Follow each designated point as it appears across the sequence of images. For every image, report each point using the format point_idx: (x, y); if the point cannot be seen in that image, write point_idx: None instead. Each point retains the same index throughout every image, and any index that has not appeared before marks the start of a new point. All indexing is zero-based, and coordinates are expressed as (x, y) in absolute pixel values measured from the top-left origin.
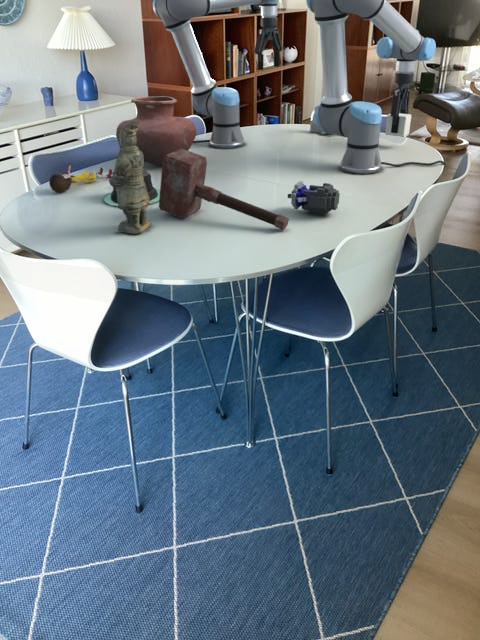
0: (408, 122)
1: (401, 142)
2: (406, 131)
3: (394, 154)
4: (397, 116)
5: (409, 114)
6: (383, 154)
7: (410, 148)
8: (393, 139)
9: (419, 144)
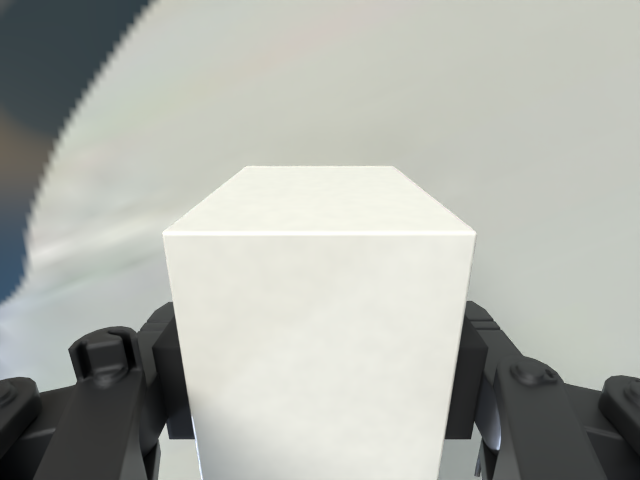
0: (297, 196)
1: (147, 246)
2: (330, 173)
3: (532, 144)
4: (544, 367)
5: (188, 268)
6: (559, 212)
7: (286, 111)
8: (104, 324)
9: (112, 99)
